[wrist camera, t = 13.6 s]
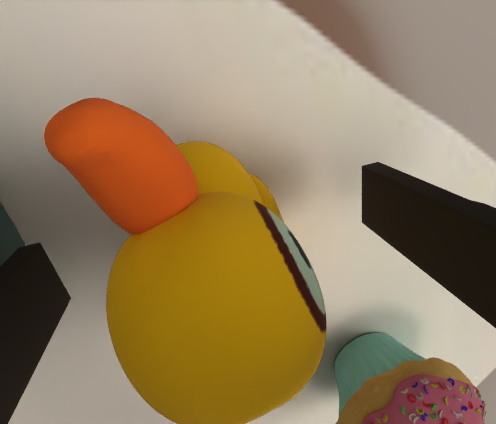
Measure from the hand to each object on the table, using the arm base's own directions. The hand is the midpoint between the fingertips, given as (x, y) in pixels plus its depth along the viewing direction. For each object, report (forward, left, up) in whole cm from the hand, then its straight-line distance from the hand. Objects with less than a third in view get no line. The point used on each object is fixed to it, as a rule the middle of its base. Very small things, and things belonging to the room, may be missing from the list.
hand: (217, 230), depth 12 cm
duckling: (0, 0, -2) cm, 2 cm away
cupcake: (+8, -14, -2) cm, 16 cm away
